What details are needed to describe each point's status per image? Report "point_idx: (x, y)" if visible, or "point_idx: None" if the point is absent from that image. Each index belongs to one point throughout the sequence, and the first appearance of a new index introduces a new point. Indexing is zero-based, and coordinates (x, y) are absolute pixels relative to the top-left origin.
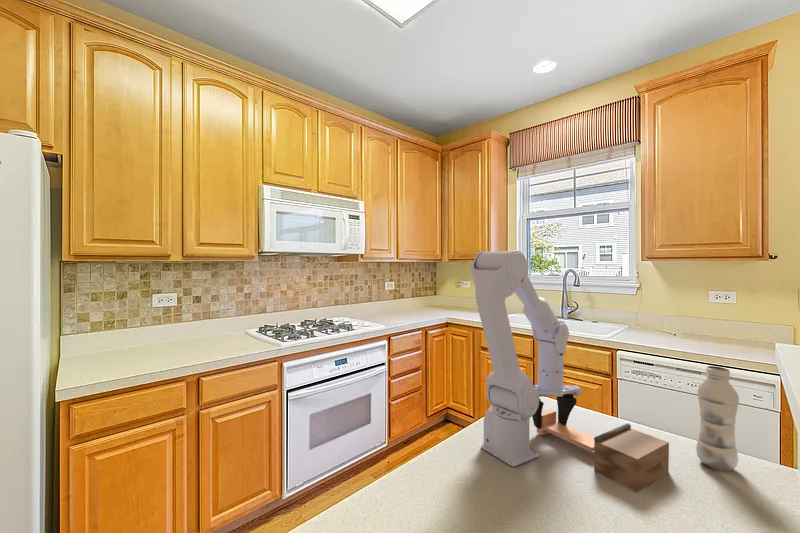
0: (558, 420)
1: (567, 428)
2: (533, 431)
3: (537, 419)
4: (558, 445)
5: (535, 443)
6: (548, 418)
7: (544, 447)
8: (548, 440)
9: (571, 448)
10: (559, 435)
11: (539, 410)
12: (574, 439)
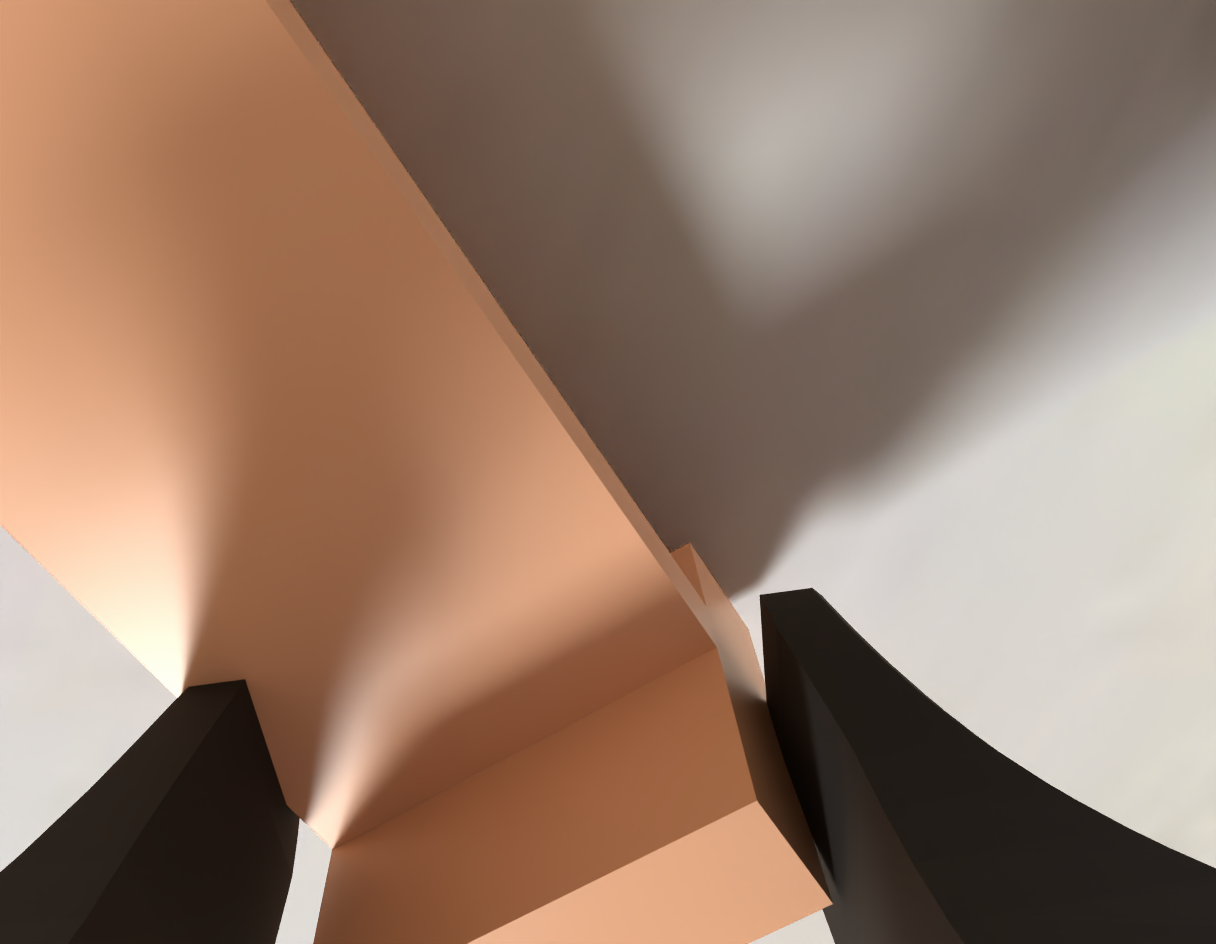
0: (291, 844)
1: (199, 553)
2: None
3: (913, 686)
4: (512, 222)
5: (924, 292)
6: (547, 817)
7: (828, 136)
8: (626, 409)
9: None
10: (483, 295)
11: (984, 836)
12: None
